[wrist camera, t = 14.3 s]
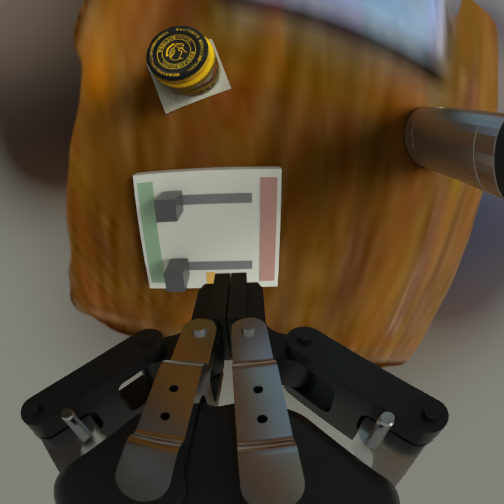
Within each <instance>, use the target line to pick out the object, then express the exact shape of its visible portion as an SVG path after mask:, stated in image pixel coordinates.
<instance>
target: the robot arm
mask: <svg viewBox="0 0 504 504" xmlns="http://www.w3.org/2000/svg"><path fill="white" fill-rule="evenodd" d="M404 140H405V145H406V148H407V151H408V153H409V155H410V156H411V158H412V159H413V160H414V161H415V162H416V163H417V164H418V165H420V166H422V167H425V168H428V169H431V170H433V171H436V172H438V173H441V174H444V175H446V176H449V177H451V178H454V179H457V180H459V181H461V182H464V183H466V184H469V185H471V186H473V187H476V188H478V189H480V190H483V191H485V192H487V193H490V194H492V195H494V196H496V197H498V198H500V199H502V200H504V113H498V112H490V111H481V110H472V109H460V108H445V107H420V108H418V109H416V110H414V111H413V112H412V113H411V114H410V116H409V117H408V119H407V122H406V125H405V130H404ZM230 356H231V357H232V360H233V364H232V368H233V369H232V370H233V387H234V404H230V405H225V406H218V404H219V397H220V392H221V387H222V380H223V376H224V372H223V368H224V360H230ZM140 371H142V374H143V375H142V376H140V377H139V378H137V379H136V380H134V381H133V382H131V383H130V384H129V385H127V386H126V387H124V388H123V389H121V390H120V391H119V387H120V385H121V384H122V383H124V382H125V381H127V380H128V379H130V378H131V377H133V376H134V375H136V374H137V373H138V372H140ZM282 385H284V388H285V390H286V391H288V393H290V394H291V395H292V396H293V397H295V398H296V399H297V400H298V401H300V402H301V403H302V404H304V405H305V406H306V407H307V408H309V409H310V410H312V411H313V412H314V413H315V414H317V415H318V416H319V417H321V418H322V419H323V420H325V421H326V422H328V423H329V424H330V425H332V426H333V427H335V428H336V429H337V430H339V431H340V432H342V433H343V434H344V435H346V436H347V437H349V438H350V439H352V444H351V448H352V451H353V453H354V454H355V456H354V455H353V454H351V453H350V452H349V451H348V450H346V449H345V448H344V447H342V446H341V445H340V444H338V443H337V442H336V441H335V440H333V439H332V438H331V437H330V436H328V435H327V434H326V433H324V432H323V431H322V430H321V429H320V428H318V427H317V426H316V425H315V424H313V423H312V422H311V421H310V420H308V419H307V418H305V417H304V416H302V415H301V414H299V413H297V412H294V411H291V410H289V409H287V407H286V403H285V398H284V393H283V388H282ZM21 417H22V420H23V421H24V422H25V423H26V424H27V425H28V426H29V427H30V429H31V430H32V431H33V432H34V433H35V435H36V436H37V437H38V438H39V439H40V440H41V441H42V442H43V444H44V446H45V447H46V449H47V451H48V453H49V455H50V457H51V458H52V460H53V462H54V464H55V465H56V467H57V469H58V470H59V472H60V473H59V475H58V476H57V479H56V481H55V484H54V499H55V503H56V504H400V500H399V496H398V493H397V490H396V489H395V486H396V485H397V484H398V482H399V481H400V480H401V479H402V477H403V476H404V475H405V473H406V472H407V471H408V469H409V468H410V466H411V465H412V464H413V462H414V461H415V459H416V458H417V457H418V455H419V454H420V453H421V452H422V451H423V450H424V449H425V448H426V447H427V446H428V445H429V444H430V443H431V442H432V441H433V439H434V438H435V437H436V436H437V435H438V434H439V433H440V431H441V430H442V429H443V428H444V427H445V425H446V424H447V422H448V418H449V415H448V410H447V408H446V407H445V405H444V404H443V403H442V402H440V401H439V400H437V399H435V398H433V397H431V396H429V395H428V394H426V393H424V392H422V391H421V390H419V389H417V388H415V387H413V386H412V385H409V384H408V383H406V382H404V381H403V380H401V379H399V378H397V377H396V376H394V375H392V374H390V373H389V372H387V371H385V370H383V369H382V368H380V367H378V366H376V365H375V364H373V363H371V362H370V361H368V360H366V359H364V358H363V357H361V356H359V355H358V354H356V353H354V352H353V351H351V350H349V349H348V348H346V347H344V346H343V345H341V344H339V343H338V342H336V341H334V340H333V339H331V338H329V337H328V336H326V335H324V334H323V333H321V332H319V331H318V330H316V329H314V328H310V327H298V328H295V329H293V330H291V331H290V332H289V333H288V334H281V333H277V332H275V331H273V330H271V329H270V328H269V327H268V326H267V324H266V321H265V310H264V298H263V288H262V287H261V285H260V284H259V283H258V282H247V273H246V272H241V273H215V277H214V282H213V284H204V285H203V286H202V287H201V288H200V289H199V292H198V296H197V299H196V303H195V307H194V311H193V315H192V319H191V321H189V322H188V323H186V324H185V325H184V327H183V329H182V331H181V333H179V334H177V335H173V336H168V337H163V335H162V333H161V332H160V331H158V330H155V329H144V330H141V331H139V332H137V333H135V334H134V335H132V336H130V337H129V338H127V339H126V340H124V341H123V342H121V343H119V344H118V345H116V346H114V347H113V348H111V349H109V350H108V351H106V352H105V353H103V354H101V355H100V356H98V357H97V358H95V359H93V360H92V361H90V362H89V363H87V364H85V365H84V366H82V367H80V368H78V369H77V370H75V371H73V372H72V373H70V374H69V375H67V376H65V377H64V378H62V379H60V380H59V381H57V382H55V383H54V384H52V385H50V386H49V387H47V388H46V389H44V390H42V391H41V392H39V393H37V394H36V395H34V396H32V397H31V398H29V399H28V400H27V401H26V402H25V403H24V404H23V406H22V409H21Z"/></svg>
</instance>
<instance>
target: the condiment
mask: <svg viewBox="0 0 504 504" xmlns="http://www.w3.org/2000/svg"><path fill="white" fill-rule="evenodd" d="M146 58H147V64H148V65H147V66H148V69H149V71H150V74H151V77H152V79H153V82H154V84H155V87H156V90H157V92H158V95H159V98H160V100H161V103H162V105H163V108H164V111H165V114H167V113H169V112H171V111H174V110H176V109H178V108H181V107H183V106H186V105H188V104H191V103H193V102H196V101H198V100H201V99H204V98H206V97H209V96H211V95H214V94H217V93H220V92H223V91H226V90H228V89H231V87H230V84H229V81H228V79H227V76H226V74H225V71H224V68H223V66H222V63H221V61H220V58H219V56H218V53H217V51H216V48H215V46H214V43H213V41H212V39H209V40H208V38H206V37H205V36H203V35H202V34H201V33H200V32H199V31H198V30H196V29H194V28H191V27H188V26H174V27H170V28H168V29H166V30H164V31H162V32H160V33H159V34H158V35H156V36H155V37H154V39H153V40H152V41H151V43H150V45H149V48H148V50H147V54H146ZM174 92H176V93H174ZM177 92H179V94H178V93H177Z"/></svg>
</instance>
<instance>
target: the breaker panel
mask: <svg viewBox="0 0 504 504" xmlns="http://www.w3.org/2000/svg"><path fill="white" fill-rule="evenodd" d="M281 181H282V169H281V168H280V167H278V166H252V167H212V168H192V169H176V170H162V171H150V172H140V173H137V174H135V175H133V183H134V192H135V200H136V208H137V215H138V223H139V229H140V236H141V242H142V248H143V254H144V259H145V265H146V270H147V275H148V280H149V285H150V288H166V285H165V280H164V272H165V270H166V267H167V265H168V263H169V260H170V259H188V263H189V272H190V277H189V280H188V284H187V288H201V287H202V286H203V285H204V284H213V282H214V277H215V273H241V272H246V273H247V282H258V283H259V284H260V285H261V287H269V286H278V268H279V244H280V216H281ZM165 191H182V197H183V210H184V211H183V212H182V214H181V216H180V218H179V219H178V221H177V222H156V215H155V207H154V200H155V199H156V198H157V197H158V196H159V195H160V194H161V193H162V192H165Z"/></svg>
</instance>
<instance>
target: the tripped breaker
mask: <svg viewBox="0 0 504 504" xmlns="http://www.w3.org/2000/svg"><path fill="white" fill-rule="evenodd" d="M189 277H190V272H189V263H188V259H170V260H169V263H168V265H167V267H166V270H165V272H164V280H165V285H166V291H167V292H185V291H186V288H187V284H188V280H189Z"/></svg>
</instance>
